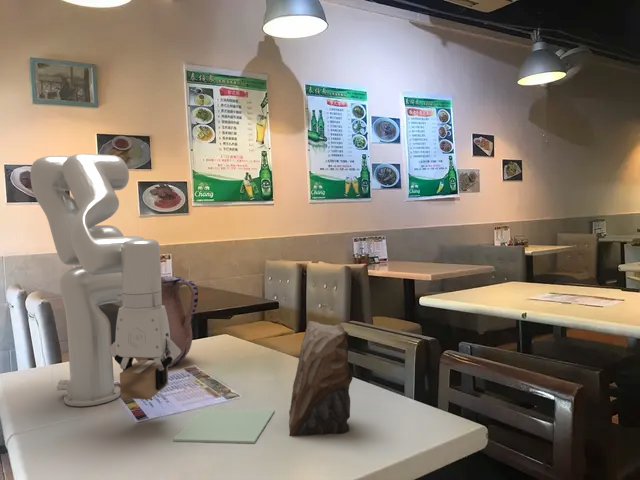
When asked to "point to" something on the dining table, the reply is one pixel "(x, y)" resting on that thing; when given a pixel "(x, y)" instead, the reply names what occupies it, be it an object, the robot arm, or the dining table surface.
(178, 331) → the ceramic pitcher
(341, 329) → the brown rock
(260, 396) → the dining table surface
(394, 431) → the dining table surface
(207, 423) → the mat
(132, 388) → the cardboard box
